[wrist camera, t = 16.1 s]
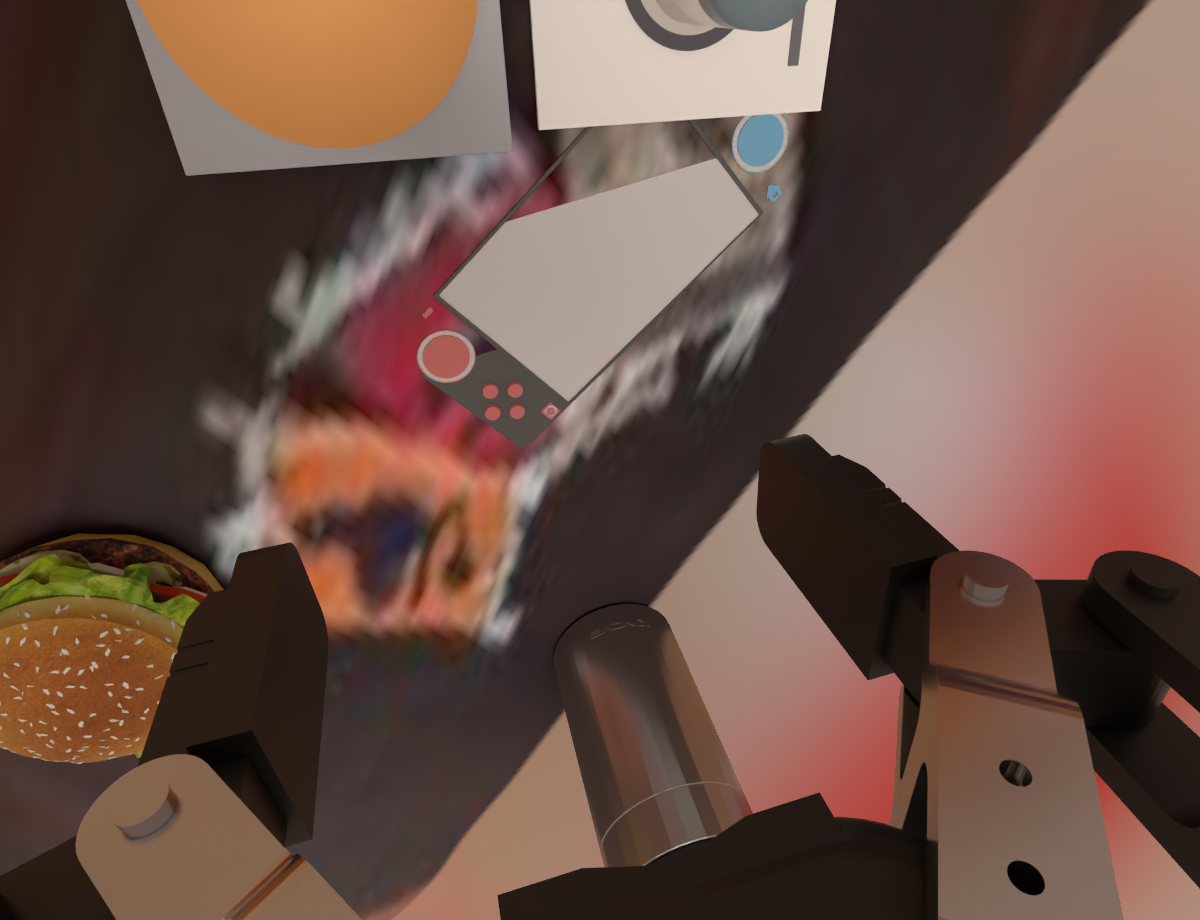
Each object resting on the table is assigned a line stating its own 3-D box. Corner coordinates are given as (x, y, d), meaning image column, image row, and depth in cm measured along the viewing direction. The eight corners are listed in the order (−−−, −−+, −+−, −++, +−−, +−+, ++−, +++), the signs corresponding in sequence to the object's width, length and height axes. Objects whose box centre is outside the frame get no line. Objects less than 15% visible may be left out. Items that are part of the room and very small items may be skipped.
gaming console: (524, 452, 40) (382, 350, 35) (522, 446, 41) (382, 344, 35) (821, 162, 35) (709, -11, 30) (814, 160, 36) (703, -11, 30)
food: (108, 721, 44) (60, 844, 38) (-93, 583, 36) (-198, 711, 29) (305, 634, 44) (291, 742, 38) (151, 476, 36) (100, 581, 30)
